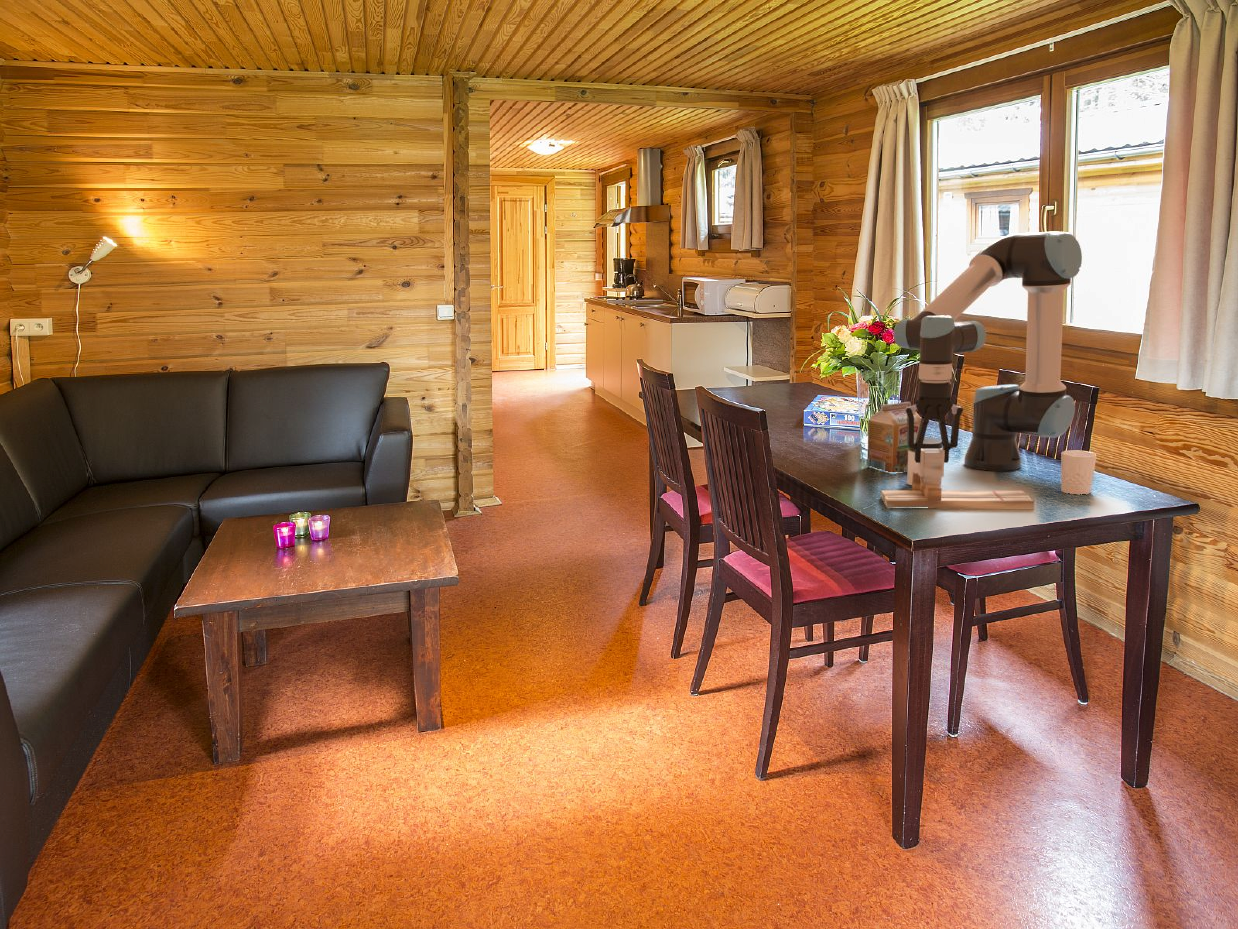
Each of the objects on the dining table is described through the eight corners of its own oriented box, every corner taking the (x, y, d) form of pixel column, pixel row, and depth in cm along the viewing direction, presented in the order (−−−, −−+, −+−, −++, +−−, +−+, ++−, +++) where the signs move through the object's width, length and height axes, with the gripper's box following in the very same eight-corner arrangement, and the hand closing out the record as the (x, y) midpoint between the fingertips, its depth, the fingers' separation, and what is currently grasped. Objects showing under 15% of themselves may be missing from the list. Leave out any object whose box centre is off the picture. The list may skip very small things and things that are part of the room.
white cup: (1097, 496, 232) (1100, 456, 229) (1063, 495, 233) (1066, 456, 231) (1088, 488, 239) (1091, 450, 237) (1055, 487, 241) (1058, 450, 238)
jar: (948, 486, 246) (950, 441, 243) (924, 490, 242) (926, 445, 240) (923, 479, 253) (925, 436, 251) (900, 483, 250) (902, 439, 247)
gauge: (911, 494, 237) (913, 444, 234) (936, 494, 236) (938, 444, 234) (921, 508, 224) (923, 455, 221) (947, 508, 223) (949, 455, 221)
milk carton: (895, 463, 274) (897, 399, 270) (921, 470, 264) (923, 404, 260) (867, 467, 269) (868, 402, 265) (892, 474, 260) (894, 407, 256)
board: (881, 498, 236) (881, 490, 236) (1021, 498, 231) (1022, 490, 231) (886, 508, 226) (887, 500, 226) (1033, 509, 222) (1034, 500, 221)
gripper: (900, 383, 221) (897, 478, 226) (975, 382, 218) (970, 479, 223) (895, 379, 228) (892, 471, 233) (968, 378, 225) (963, 472, 231)
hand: (930, 475), depth 228 cm, fingers closed on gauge, 4 cm apart
